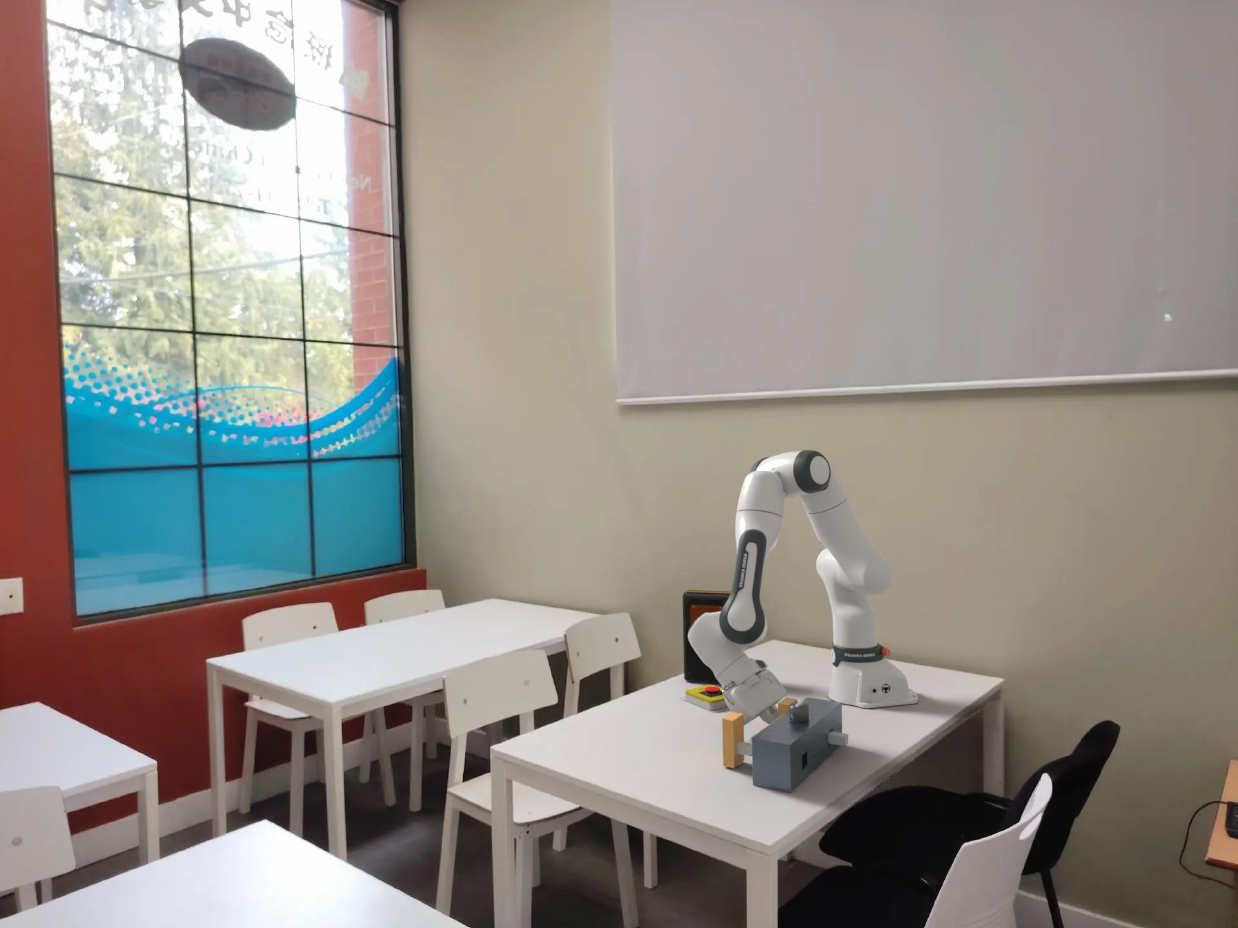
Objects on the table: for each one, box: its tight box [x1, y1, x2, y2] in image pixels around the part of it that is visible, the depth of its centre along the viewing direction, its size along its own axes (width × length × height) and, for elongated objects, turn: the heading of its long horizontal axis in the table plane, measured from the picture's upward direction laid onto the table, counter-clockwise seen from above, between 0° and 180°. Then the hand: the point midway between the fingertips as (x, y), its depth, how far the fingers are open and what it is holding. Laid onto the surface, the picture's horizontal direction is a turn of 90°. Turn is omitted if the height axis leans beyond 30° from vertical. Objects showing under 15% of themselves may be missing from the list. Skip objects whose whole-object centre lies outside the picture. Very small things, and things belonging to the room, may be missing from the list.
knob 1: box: [721, 712, 752, 769], centre depth 181 cm, size 14×5×10 cm, turn 57°
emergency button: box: [679, 684, 730, 714], centre depth 227 cm, size 9×4×15 cm
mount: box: [749, 697, 843, 794], centre depth 185 cm, size 8×30×10 cm, turn 147°
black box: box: [681, 589, 731, 684], centre depth 247 cm, size 16×9×25 cm, turn 71°
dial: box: [789, 700, 809, 722], centre depth 184 cm, size 4×4×3 cm
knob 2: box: [777, 696, 849, 747], centre depth 191 cm, size 14×5×10 cm, turn 57°
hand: (780, 726), depth 195 cm, fingers closed, pressing on knob 2
